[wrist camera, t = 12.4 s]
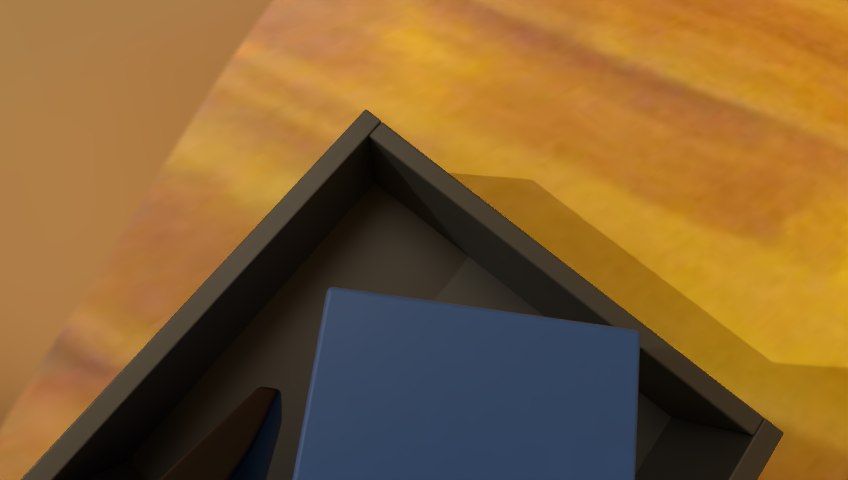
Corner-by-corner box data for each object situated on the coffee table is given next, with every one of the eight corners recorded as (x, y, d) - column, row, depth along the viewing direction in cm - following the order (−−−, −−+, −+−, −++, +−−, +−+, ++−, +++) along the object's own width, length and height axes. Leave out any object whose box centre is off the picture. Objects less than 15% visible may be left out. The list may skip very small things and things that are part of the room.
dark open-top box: (686, 412, 17) (785, 432, 13) (453, 782, 14) (476, 968, 10) (373, 165, 19) (365, 108, 14) (109, 460, 16) (-1, 500, 12)
